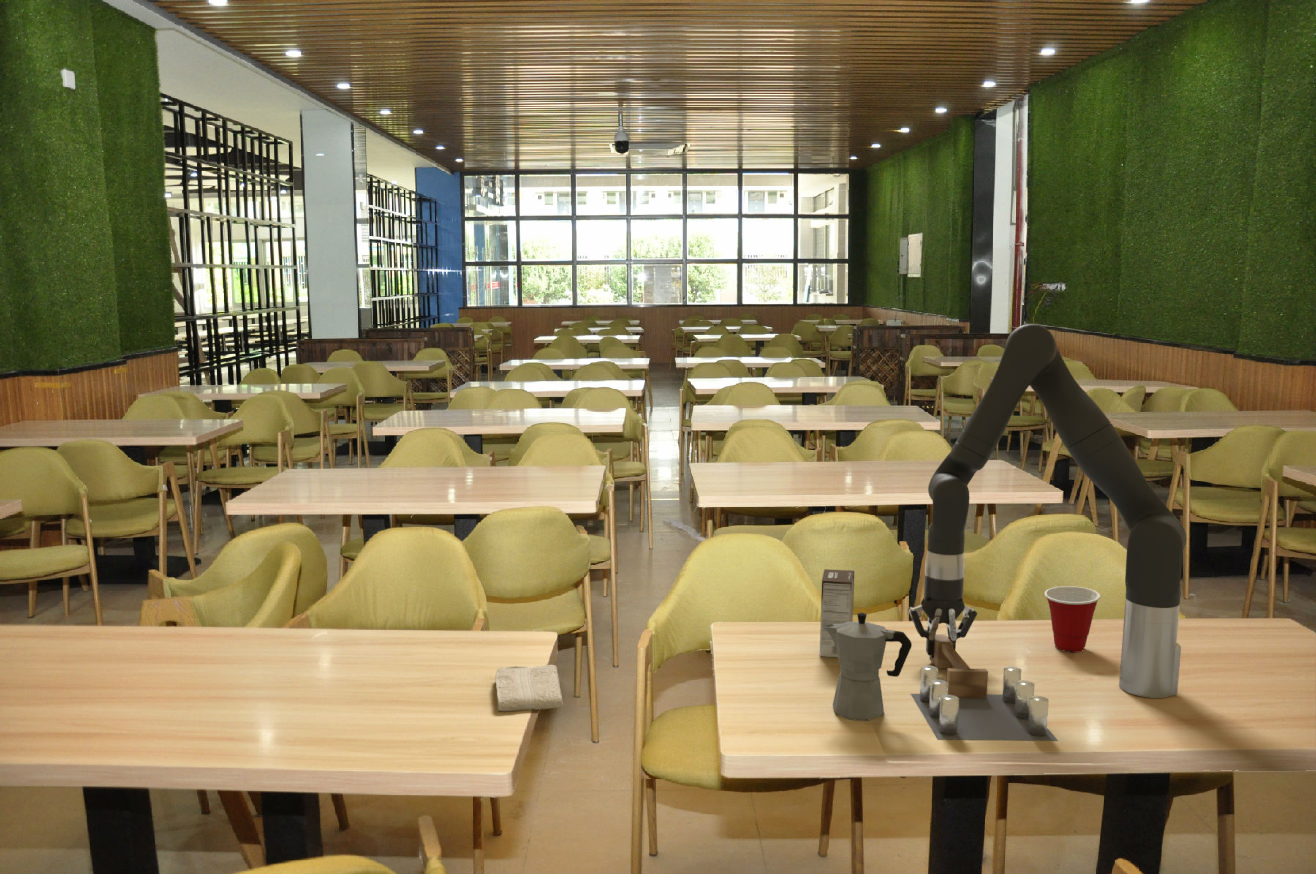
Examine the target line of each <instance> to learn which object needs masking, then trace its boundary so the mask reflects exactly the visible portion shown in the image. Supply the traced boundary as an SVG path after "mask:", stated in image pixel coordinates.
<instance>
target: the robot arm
mask: <svg viewBox="0 0 1316 874" xmlns="http://www.w3.org/2000/svg"><path fill="white" fill-rule="evenodd" d="M1029 387H1030V388H1031V389H1032V390H1033V392H1035V394H1036V395H1037V397H1038V398H1039V400H1040V402H1041V403H1042V405H1043V407H1044V408H1045V410H1046V413H1047V414H1048V417H1049V419H1050V421H1051V423H1052V425H1053V428H1054V429H1055V431H1056V433H1057V434H1058V437H1059V439H1060V440H1061V442H1062V443H1063V445H1064V447H1065V448H1066V450H1067V451H1068V453H1069V454H1070V456H1071V458H1072V459H1073V460H1074V462H1075V464H1076V465H1077V466H1078V468H1079V469H1080V470H1081V471H1082V473H1083V474H1084V475H1085V476H1086V477H1087V478H1088V479H1089V480H1090V482H1092V483H1093V485H1095V486H1096V487H1097V488H1098V489H1099V490H1100V491H1101V492H1102V493H1103V494H1104V495H1105V496H1106V497H1107V498H1108V499H1109V500H1110V501H1111V502H1112V503H1113V505H1114V506H1115V508H1116V510H1117V511H1118V512H1119V514H1120V516H1121V517H1122V519H1123V521H1124V523H1125V525H1126V526H1127V528H1128V530H1129V533H1128V534H1129V535H1128V538H1127V543H1126V544H1127V545H1126V557H1125V558H1126V559H1125V560H1126V561H1125V578H1124V583H1125V584H1124V585H1125V602H1124V611H1123V612H1124V615H1123V625H1122V626H1123V629H1122V643H1121V651H1120V652H1121V653H1120V654H1121V655H1120V664H1119V665H1120V667H1119V668H1120V669H1119V674H1118V675H1119V681H1118V686H1119V687H1120V689H1121V690H1122V691H1124V692H1127V693H1129V694H1132V695H1134V696H1138V697H1142V698H1151V699H1163V698H1167V697H1171V696H1177V695H1178V689H1179V680H1180V679H1179V678H1180V667H1181V655H1182V653H1181V652H1182V646H1181V645H1180V644H1179V643H1178V642H1177V641H1178V628H1179V616H1180V604H1181V595H1182V591H1181V577H1182V567H1183V566H1182V565H1183V563H1182V562H1183V553H1184V550H1185V547H1186V543H1187V532H1186V531H1185V528H1184V526H1183V524H1182V523H1181V521H1180V520H1179V519H1178V518H1177V516H1175V514H1174V513H1173V512H1172V511H1171V510H1170V509H1169V508H1168V506H1167V505H1166V504H1165V502H1163V500H1162V499H1161V498H1160V497H1159V494H1157V493H1156V492H1155V490H1154V489H1153V488H1152V487H1151V485H1150V484H1149V482H1148V481H1147V479H1146V477H1145V476H1144V474H1143V472H1142V470H1141V468H1140V467H1139V464H1138V463H1137V461H1136V460H1135V458H1134V456H1133V455H1132V453H1131V452H1130V450H1129V448H1128V446H1127V445H1126V443H1125V441H1124V440H1123V438H1122V437H1121V435H1120V434H1119V432H1118V431H1117V430H1116V428H1115V426H1114V424H1113V423H1112V421H1110V419H1109V418H1108V417H1107V415H1106V414H1105V412H1103V410H1102V409H1101V407H1099V405H1098V404H1097V403H1096V402H1095V401H1094V400H1093V398H1092V397H1090V395H1089V394H1088V393H1087V392H1086V391H1085V390H1084V389H1083V388H1082V387H1081V386H1080V384H1079V383H1078V382H1077V380H1076V379H1075V378H1074V376H1073V375H1072V373H1071V371H1070V370H1069V368H1068V365H1067V364H1066V362H1065V361H1064V358H1063V357H1062V354H1061V353H1060V351H1059V348H1058V347H1057V342H1056V339H1055V337H1054V335H1053V334H1052V333H1051V331H1050V330H1049V329H1048V328H1046V327H1045V326H1044V325H1040V324H1039V323H1038V324H1037V323H1028V324H1023V325H1021V326H1020V325H1019V326H1018V327H1016V328H1015V329H1014V330H1012V332H1011V333H1010V334H1009V335H1008V337H1007V339H1006V342H1005V346H1004V350H1003V353H1002V356H1001V359H1000V361H999V363H998V367H997V370H996V371H995V373H994V376H993V378H992V380H991V382H990V384H989V386H988V388H987V389H986V391H985V393H984V395H983V396H982V398H981V399H980V401H979V403H978V404H977V406H976V408H975V409H974V410H973V412H972V414H971V416H970V417H969V419H968V421H967V422H966V423H965V425H964V427H963V429H962V430H961V432H960V434H959V436H958V437H957V439H956V441H955V442H954V444H953V447H952V449H951V451H950V452H949V453H948V454H947V455H946V457H944V459H943V460H942V462H941V463H940V464H939V466H938V467H937V468H936V470H935V471H934V473H933V475H932V476H931V478H930V480H929V484H928V487H927V488H928V489H927V490H928V495H929V497H930V500H931V501H932V511H931V512H932V514H931V516H932V517H931V523H930V524H929V526H928V533H927V551H926V557H925V563H924V564H925V565H924V585H923V586H924V587H923V599H922V600H921V603H920V604H919V605H917V606H915V607H913V606H909V607H908V609H907V610H908V613H909V615H910V618H911V620H912V622H913V624H914V627H915V630H916V632H917V633H918V635H919V636H920V637H921V638H925V639H926V643H925V645H926V646H925V651H926V654H927V655H928V656H929V658H930V657H931V658H934V647H935V641H934V639H935V635H936V634H937V630H939V629H938V628H939V625H940V624H945V626H946V632H947V637H948V638H949V639H950V640H951V641H952V643H953V648H954V650H955V651H956V649H957V647H956V645H957V644H956V643H957V640H958V639H960V638H962V639H963V638H965V637H966V636H967V634H968V632H969V630H970V629H971V627H972V625H973V623H974V621H975V619H976V617H977V615H978V612H977V611H976V610H975V609H974V607H968V606H966V605H965V602H964V583H965V581H964V580H965V573H966V570H965V564H966V563H965V539H966V538H965V537H966V536H965V529H966V524H967V519H968V516H969V515H968V514H969V508H970V490H969V487H968V485H969V484H970V482H971V481H972V479H973V477H974V476H975V474H976V473H977V472H978V471H980V470H982V469H983V468H984V467H985V466H986V464H987V463H988V461H989V459H990V457H991V456H992V455H993V452H994V451H995V449H996V447H997V445H998V444H999V443H1000V440H1001V438H1002V437H1003V435H1004V433H1005V430H1006V429H1007V427H1008V425H1009V423H1010V420H1011V418H1012V415H1013V413H1014V412H1015V410H1016V407H1017V405H1018V404H1019V402H1020V400H1021V398H1022V397H1023V396H1024V394H1025V392H1026V391H1027V389H1028V388H1029ZM922 612H924V613H925V615H926V616H927V622H926V623H927V624H926V625H927V626H926V627H927V628H926V629H925V628H924V626H923V623H922V621H921V619H920V618H921V617H922V616H923V615H922V614H923V613H922ZM961 614H962V620H961V621H960V623H959V625H958V627H957V624H956V623H957V622H956V620H957V619H958V618H959V617H960V615H961Z"/></svg>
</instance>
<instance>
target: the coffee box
mask: <svg viewBox="0 0 1316 874" xmlns="http://www.w3.org/2000/svg"><path fill="white" fill-rule="evenodd" d="M855 574H856V573H855V570H849V569H831V568H830V569H829V568H828V569H824V570H823V574H822V579H821V595H820V598H821V601H820V602H821V604H820V629H819V630H820V633H819V656H820V657H828V658H838V649H837V647H836V645H835V643H834V641H833V639H832V638H831V636H830V634H829V633H828V631H827V630H826V629H824V628H825V627H826V626H827V625H832V624H842V623H845V622H854V602H855V601H854V597H855V596H854V595H855Z"/></svg>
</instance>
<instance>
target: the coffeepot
mask: <svg viewBox="0 0 1316 874" xmlns="http://www.w3.org/2000/svg"><path fill="white" fill-rule="evenodd" d="M866 619H867V613H866V612H858V613H857V621H853V622H845V623H842V624H832V625H827V626H826V627H825V628H824V629H826V630H827V631H828V633H829V634H830V636H831V638H832V639H833V641H834V643H835V645H836V647H837V649H838V657H837V659H838V663H839V666H840V673H839V674H838V678H837V682H836V687H835V693H834V696H833V702H832V707H833V711H834V713H835V714H836V715H838V716H840V717H842V718H844V719H848V720H852V721H858V722H859V721H860V722H861V721H862V722H866V721H869V720H873V719H876V718H879V717H880V716H882V715H884V714H885V709H884V708H885V707H884V701H883V693H882V686H881V685H882V684H881V679H880V676H879V672H880V671H879V670H880V669H882V665H883V660H884V656H885V650H886V645H887V642H888V643H891V642H892V643H894V642H896V643H897V642H898V643H900V644H901V646H900V648H899V651H898V655H897V658H896V660H895V661H894V662H895V663H894V669H893V670H888V669H886V674H887V676H888V677H897V678H898V677H899V676H900V674H901V672H902V670H903V668H904V665H905V662H906V660H907V658H908V656H909V653H910V651H911V650H912V641H911V640H910V638H909V637H908V636H907V634H906V633H905V632H904V631H899V630H893V629H887V628H886V627H885V626H883V625H880V624H876V623H873V622H869V621H866Z"/></svg>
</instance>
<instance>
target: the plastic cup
mask: <svg viewBox="0 0 1316 874" xmlns="http://www.w3.org/2000/svg"><path fill="white" fill-rule="evenodd" d="M1044 596H1045V598H1046V600H1047V603H1048V605H1049V606H1048V607H1049V613H1050V619H1051V620H1050V621H1051V627H1052V628H1051V629H1052V632H1053V642H1054V646H1055V648H1056V649H1057V648H1058V649H1057V650H1059V651H1063V650H1065V651H1064V652H1067V651H1072V652H1071V653H1079V652H1083V651H1084V650H1085V648H1086V646H1087V645H1086V644H1087V639H1088V637H1089V635H1090V630H1091V627H1092V622H1093V618H1094V614H1095V610H1096V607H1097V604H1098V601H1099V600H1100V599H1101V595H1100V593H1099V591H1096V590H1094V589H1090V588H1087V587H1082V586H1075V585H1074V586H1073V585H1071V586H1070V585H1066V586H1065V585H1062V586H1053V587H1051V588H1047V589H1046V590H1045V591H1044ZM1082 650H1083V651H1082Z"/></svg>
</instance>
